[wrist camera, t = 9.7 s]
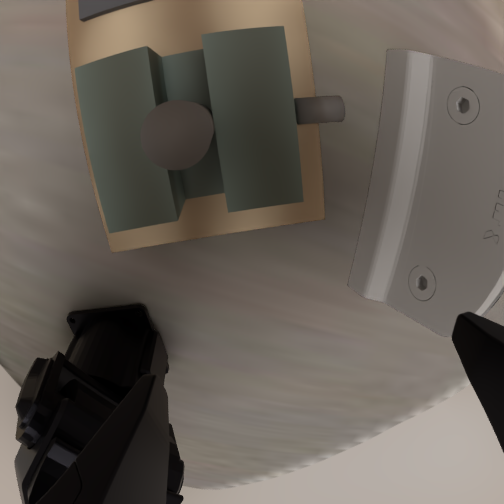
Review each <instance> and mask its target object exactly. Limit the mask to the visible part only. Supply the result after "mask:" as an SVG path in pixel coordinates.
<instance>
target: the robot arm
mask: <svg viewBox="0 0 504 504" xmlns="http://www.w3.org/2000/svg"><path fill="white" fill-rule="evenodd" d="M137 311H141V312H142V313H138V312H137ZM72 318H73V319H75V320H73V319H72ZM67 322H68V324H69V326H70V328H71V330H72V332H73V334H74V337H73V339H72V341H71V343H70V345H69V347H68V350H67V352H66V354H65V356H64V355H63V354H62V353H60V352H59V351H58V352H57V353H56V354H55V355H54V357H53V358H50V359H48V358H47V359H43V358H37V359H36V360H35V361H34V363H33V365H32V366H31V368H30V370H29V372H28V374H27V376H26V378H25V380H24V382H23V385H22V388H21V391H20V394H19V397H18V400H17V404H16V410H17V414H18V423H17V431H16V440H17V441H19V442H20V443H22V444H21V447H20V449H19V451H18V454H17V456H16V458H15V470H16V476H17V481H18V486H19V491H20V496H21V500H22V504H181V502H182V501H183V496H182V495H179V493H180V490H181V488H182V484H183V479H184V462H183V460H181V459H180V455H179V452H178V448H177V444H176V440H175V436H174V432H173V428H172V425H171V424H170V423H169V417H168V396H167V392H166V390H165V388H164V379H165V374H166V373H168V370H169V365H168V363H167V359H168V355H167V353H166V350H165V348H164V345H163V343H162V340H161V338H160V335H159V332H157V331H156V330H154V328H153V325H152V322H151V320H150V317H149V314H148V311H147V309H146V307H144V306H143V305H139V304H137V305H129V306H121V307H113V308H104V309H95V310H86V311H77V312H70V313H69V315H68V316H67ZM452 341H453V343H454V346H455V348H456V350H457V353H458V355H459V357H460V360H461V362H462V364H463V367H464V369H465V372H466V374H467V376H468V379H469V381H470V383H471V385H472V386H473V388H474V390H475V392H476V394H477V396H478V398H479V400H480V402H481V404H482V406H483V408H484V410H485V412H486V414H487V416H488V418H489V421H490V423H491V425H492V427H493V429H494V432H495V434H496V436H497V438H498V441H499V443H500V445H501V447H502V450H503V452H504V326H502V325H499V324H497V323H495V322H493V321H490V320H488V319H486V318H484V317H481V316H479V315H477V314H474V313H472V312H469V311H467V312H464V313H461V314H459V315H458V316H457V318H456V322H455V325H454V329H453V332H452Z"/></svg>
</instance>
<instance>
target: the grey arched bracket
mask: <svg viewBox="0 0 504 504" xmlns="http://www.w3.org/2000/svg"><path fill="white" fill-rule="evenodd" d="M348 286H349V287H351V288H352V289H353V290H354V291H356V292H357V293H358V294H359V295H361V296H362V297H364V298H367V299H371V300H376V301H380V302H383V303H385V304H387V305H389V306H391V307H392V308H394V309H396V310H397V311H399V312H401V313H403V314H404V315H406V316H408V317H410V318H411V319H413V320H415V321H416V322H418V323H420V324H421V325H423V326H425V327H427V328H428V329H430V330H432V331H433V332H435V333H437V334H438V335H440V336H443V337H450V336H452V332H453V329H454V325H455V322H456V318H457V316H458V315H459V314H461V313H464V312H467V311H469V312H472V313H474V314H477V315H479V316H481V317H483V316H484V315H485V314H486V313H487V312H488V311H489V310H490V309H491V308H492V306H493V305H494V304H495V303H496V302H497V301H498V299H499V298H500V297H501V295H502V294H503V292H504V74H501V73H498V72H495V71H492V70H489V69H485V68H482V67H479V66H475V65H472V64H468V63H464V62H460V61H456V60H452V59H448V58H444V57H439V56H435V55H430V54H426V53H421V52H417V51H412V50H407V49H391V50H387V57H386V69H385V80H384V90H383V99H382V107H381V115H380V123H379V130H378V137H377V144H376V150H375V157H374V163H373V169H372V174H371V180H370V186H369V191H368V196H367V201H366V206H365V211H364V216H363V221H362V226H361V230H360V235H359V239H358V244H357V248H356V252H355V257H354V261H353V265H352V269H351V273H350V277H349V281H348Z"/></svg>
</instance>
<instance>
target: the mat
mask: <svg viewBox="0 0 504 504" xmlns="http://www.w3.org/2000/svg"><path fill="white" fill-rule="evenodd" d="M149 1H153V0H78V6H79V20H81V21H83V22H85V21H88V20H90V19H93V18H96V17H99V16H102V15H105V14H108V13H111V12H114V11H117V10H120V9H124V8H127V7H130V6H134V5H138V4H141V3H145V2H149Z"/></svg>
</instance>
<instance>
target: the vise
mask: <svg viewBox="0 0 504 504" xmlns="http://www.w3.org/2000/svg"><path fill="white" fill-rule="evenodd" d="M66 17H67V33H68V45H69V56H70V65H71V73H72V81H73V88H74V95H75V102H76V108H77V114H78V120H79V125H80V130H81V136H82V141H83V146H84V150H85V155H86V160H87V164H88V168H89V173H90V177H91V181H92V185H93V189H94V193H95V197H96V200H97V204H98V208H99V211H100V215H101V219H102V222H103V226H104V229H105V232H106V236H107V239H108V242H109V245H110V248H111V252H112V253H114V252H120V251H125V250H131V249H137V248H143V247H149V246H155V245H161V244H167V243H173V242H179V241H185V240H191V239H197V238H204V237H210V236H216V235H223V234H229V233H236V232H242V231H249V230H255V229H262V228H268V227H275V226H282V225H289V224H296V223H303V222H310V221H317V220H324V219H325V208H324V189H323V174H322V159H321V147H320V135H319V124H318V123H327V122H342V121H343V120H344V117H345V107H344V102H343V100H342V98H341V97H340V96H321V97H316V95H315V86H314V78H313V70H312V62H311V55H310V48H309V41H308V34H307V28H306V21H305V15H304V9H303V3H302V0H153V1H149V2H145V3H141V4H138V5H134V6H130V7H127V8H124V9H120V10H117V11H114V12H111V13H108V14H105V15H102V16H99V17H96V18H93V19H90V20H88V21H85V22H83V21H81V20H79V6H78V0H66Z"/></svg>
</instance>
